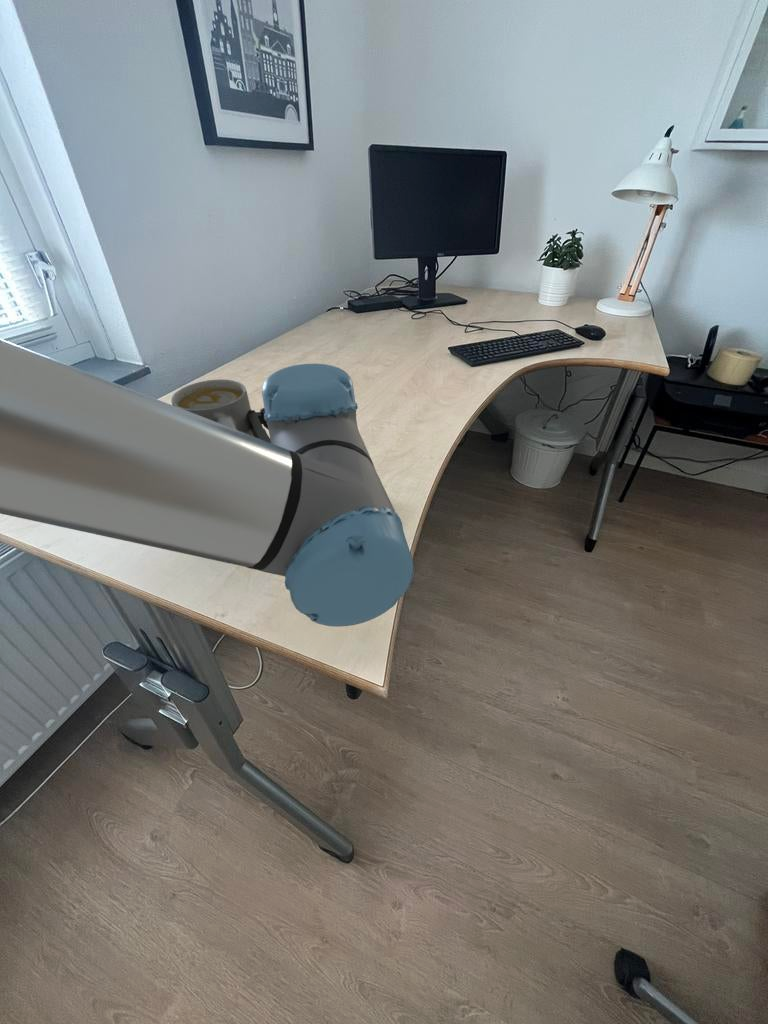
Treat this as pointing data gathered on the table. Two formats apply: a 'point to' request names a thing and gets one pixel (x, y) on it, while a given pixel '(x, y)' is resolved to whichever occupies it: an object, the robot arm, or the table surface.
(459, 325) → the table surface
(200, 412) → the coffee mug
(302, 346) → the table surface
